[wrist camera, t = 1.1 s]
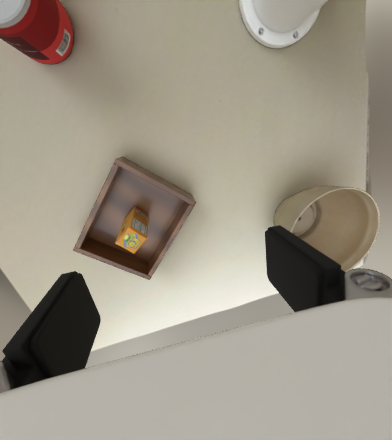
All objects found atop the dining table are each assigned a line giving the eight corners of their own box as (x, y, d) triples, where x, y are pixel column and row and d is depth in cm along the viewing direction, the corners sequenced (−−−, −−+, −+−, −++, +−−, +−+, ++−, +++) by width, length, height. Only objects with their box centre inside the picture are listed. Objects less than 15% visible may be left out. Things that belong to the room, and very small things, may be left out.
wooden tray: (122, 156, 34) (116, 158, 30) (192, 195, 39) (196, 202, 34) (83, 237, 38) (72, 250, 34) (151, 265, 42) (149, 280, 38)
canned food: (64, -11, 27) (3, -107, 16) (83, 63, 30) (42, 21, 19) (0, -7, 26) (-105, -105, 16) (26, 69, 29) (-48, 27, 19)
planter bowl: (320, 248, 47) (363, 277, 37) (253, 251, 45) (279, 282, 35) (339, 177, 42) (396, 188, 32) (264, 176, 39) (300, 187, 29)
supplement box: (139, 229, 39) (132, 256, 30) (124, 218, 38) (111, 242, 28) (151, 216, 38) (147, 239, 29) (135, 204, 37) (126, 225, 28)
